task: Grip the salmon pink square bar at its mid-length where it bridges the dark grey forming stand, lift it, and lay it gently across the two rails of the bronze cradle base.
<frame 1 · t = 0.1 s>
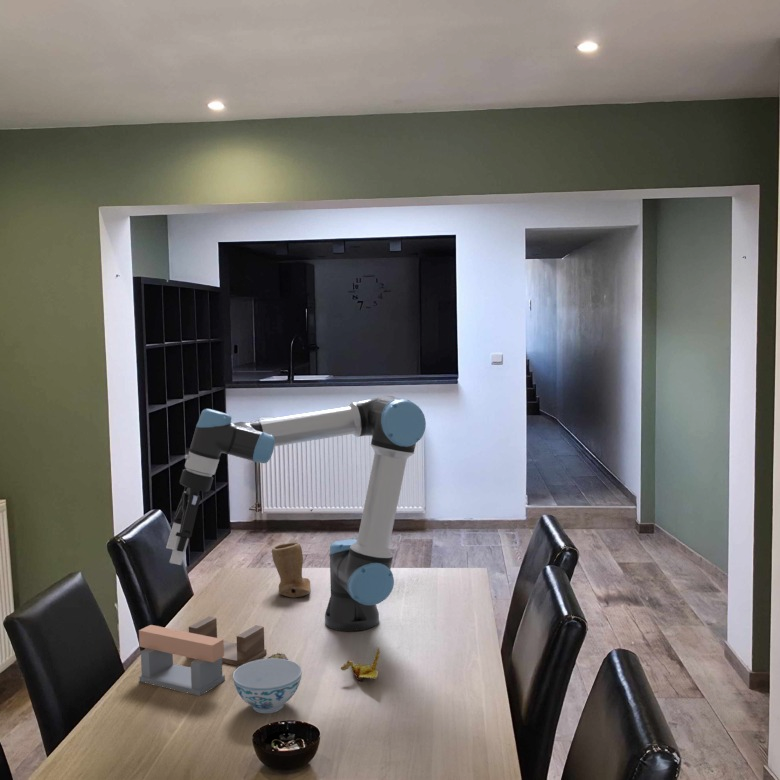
hand: (173, 556, 200), 28 cm above the table, tool tilted 20°, fingers open, 13 cm apart
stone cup: (291, 592, 257), on the table
mineral rock: (272, 672, 199), on the table
forming stand: (182, 680, 194), on the table
chinaware: (268, 707, 181), on the table
origami crane: (365, 679, 194), on the table
salmon pink square bar: (181, 651, 193), point 7 cm above the table, touching forming stand
bronze cradle base: (227, 654, 209), on the table
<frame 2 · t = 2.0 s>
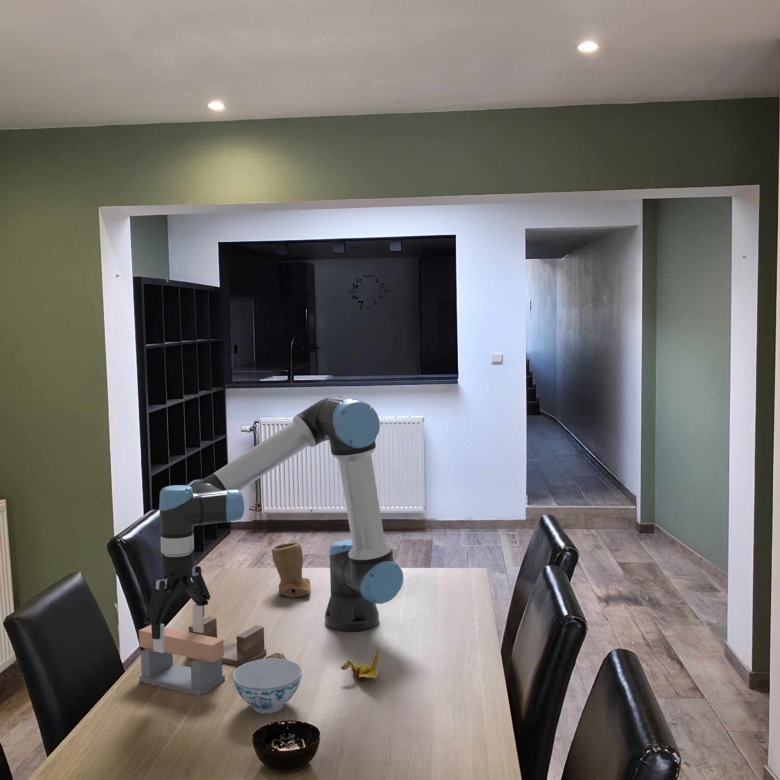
hand: (179, 641, 193), 10 cm above the table, tool pointing down, fingers open, 13 cm apart
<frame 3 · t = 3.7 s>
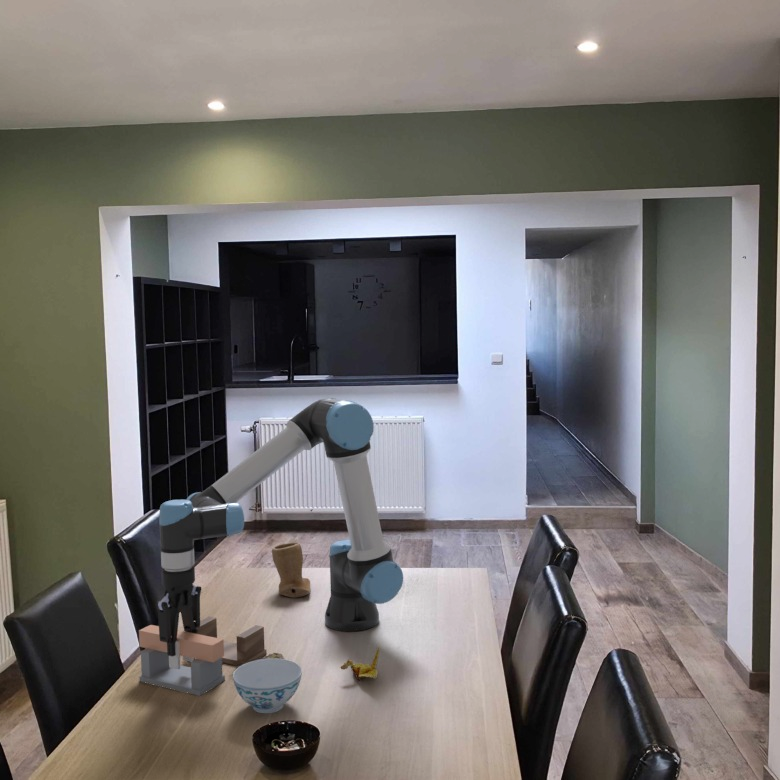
hand: (181, 663, 194), 4 cm above the table, tool pointing down, fingers closed on salmon pink square bar, 4 cm apart
salmon pink square bar: (181, 651, 193), point 7 cm above the table, touching forming stand, gripper
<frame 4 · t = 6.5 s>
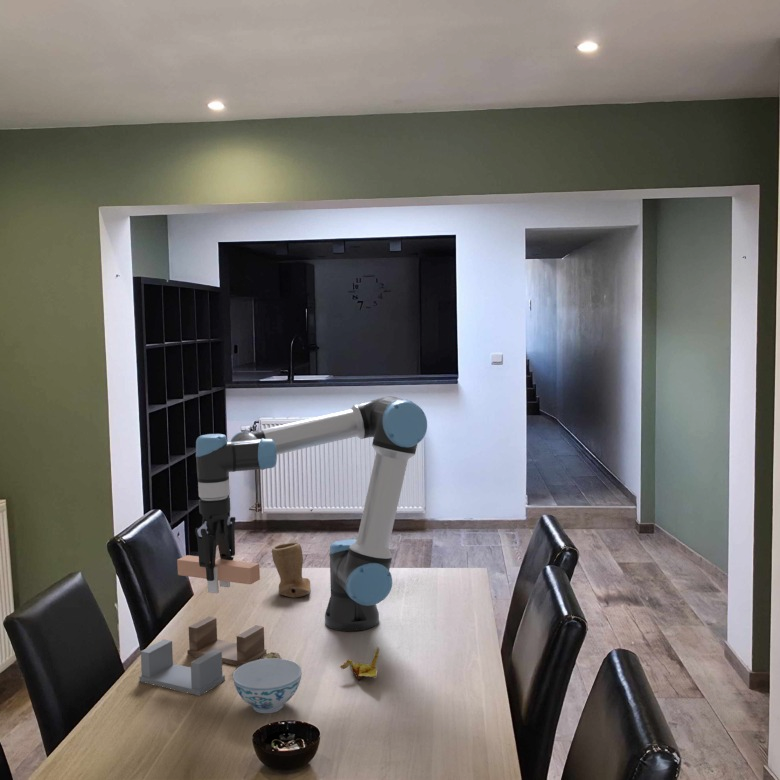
hand: (219, 589, 205), 18 cm above the table, tool pointing down, fingers closed on salmon pink square bar, 4 cm apart
salmon pink square bar: (218, 577, 205), point 21 cm above the table, touching gripper
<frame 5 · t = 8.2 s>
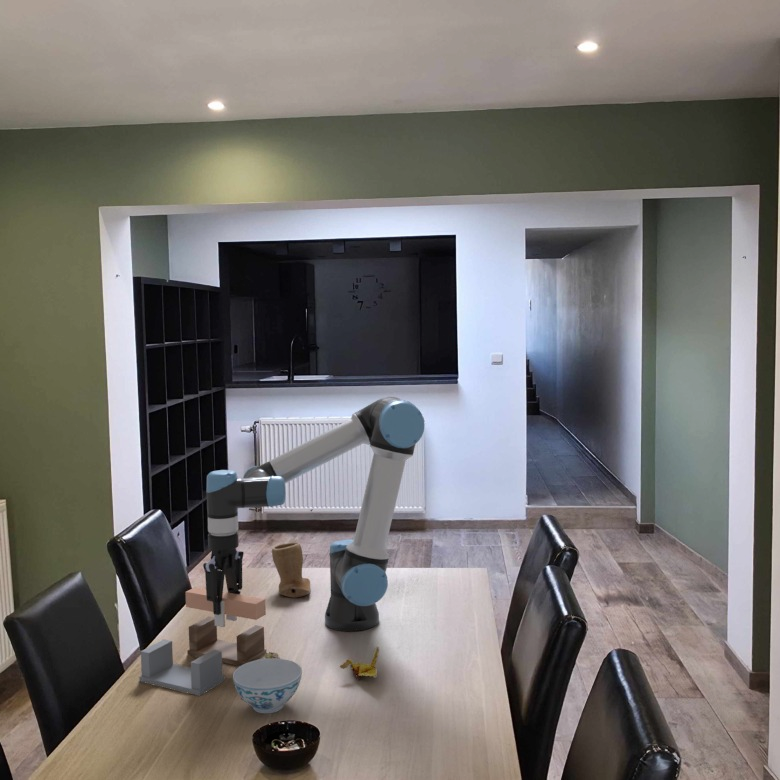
hand: (225, 622, 208), 8 cm above the table, tool pointing down, fingers closed on salmon pink square bar, 4 cm apart
salmon pink square bar: (225, 610, 208), point 11 cm above the table, touching gripper
when the fingers open (5 cm above the table, at t = 9.4 s): salmon pink square bar stays where it is, resting on bronze cradle base.
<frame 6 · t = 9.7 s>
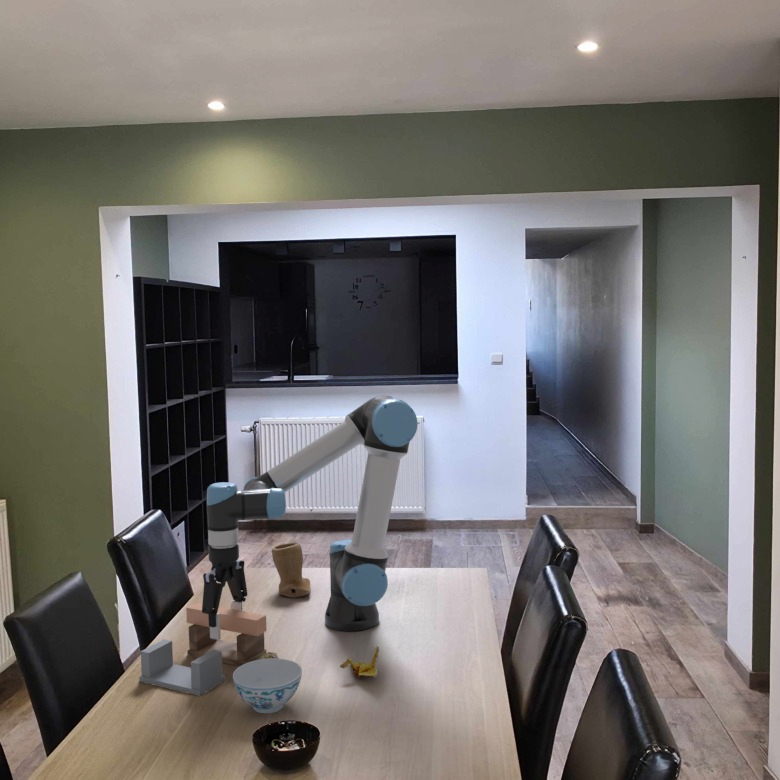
hand: (226, 632, 209), 6 cm above the table, tool pointing down, fingers open, 8 cm apart
salmon pink square bar: (226, 626, 209), point 7 cm above the table, touching bronze cradle base
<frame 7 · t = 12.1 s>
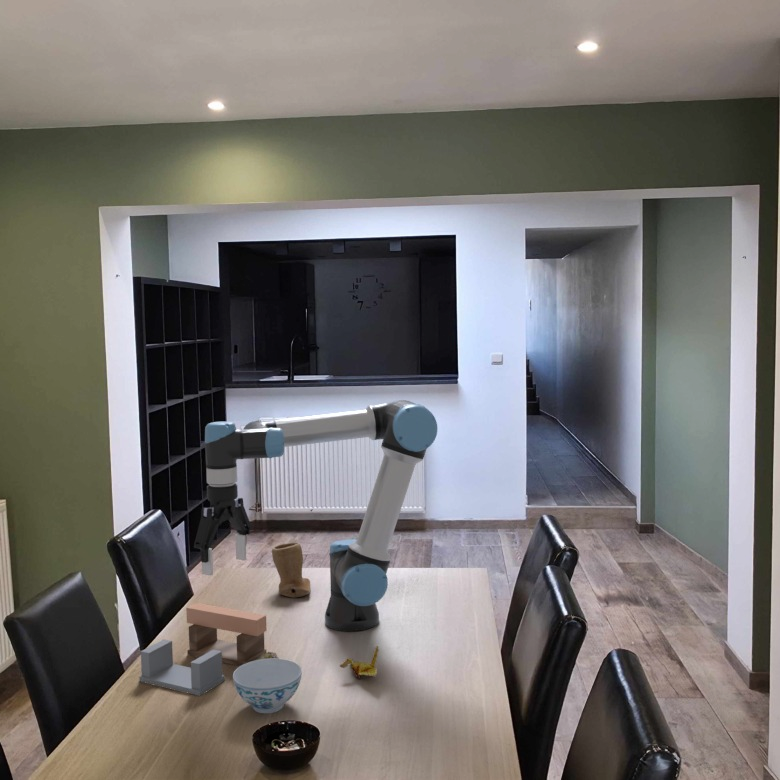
hand: (224, 566, 207), 23 cm above the table, tool pointing down, fingers open, 13 cm apart
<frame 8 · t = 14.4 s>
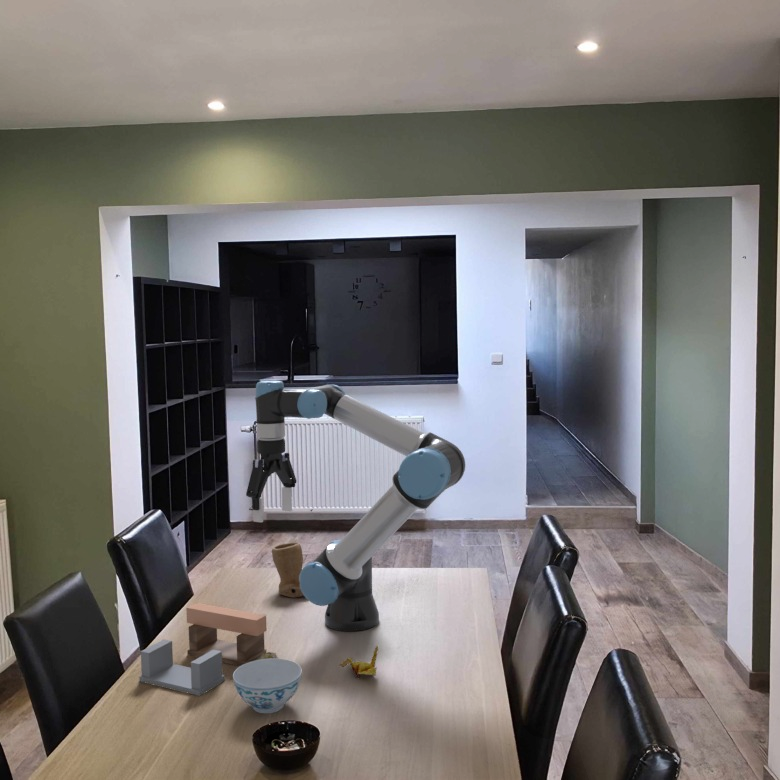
hand: (273, 516, 223), 32 cm above the table, tool pointing down, fingers open, 13 cm apart
at the end: salmon pink square bar 0.0 cm off-centre on the bronze cradle base, point 7.2 cm above the bronze cradle base's base; salmon pink square bar tilted 0°; salmon pink square bar touching bronze cradle base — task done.
